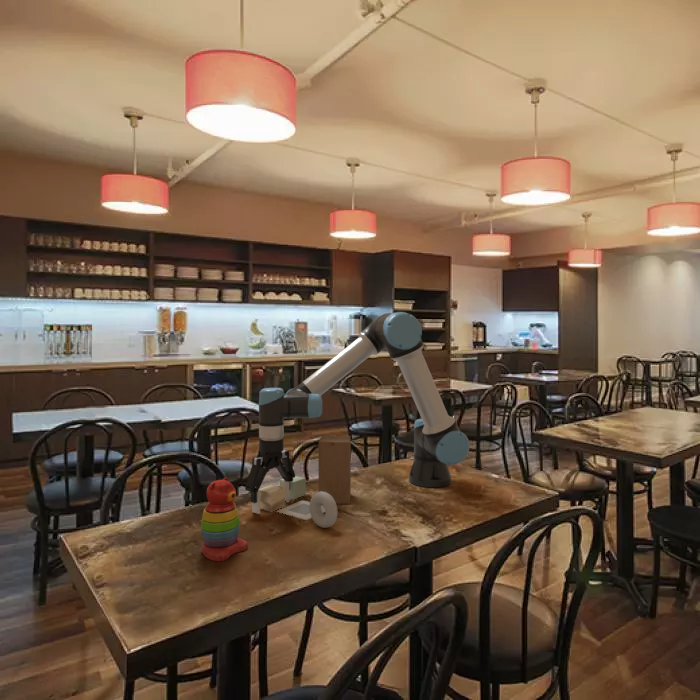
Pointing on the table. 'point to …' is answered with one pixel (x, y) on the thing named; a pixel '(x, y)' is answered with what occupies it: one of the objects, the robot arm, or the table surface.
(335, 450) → the wooden block
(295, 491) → the sage cube
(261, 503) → the maple cube
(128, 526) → the table surface
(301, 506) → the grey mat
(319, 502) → the donut
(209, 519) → the stacking bear
